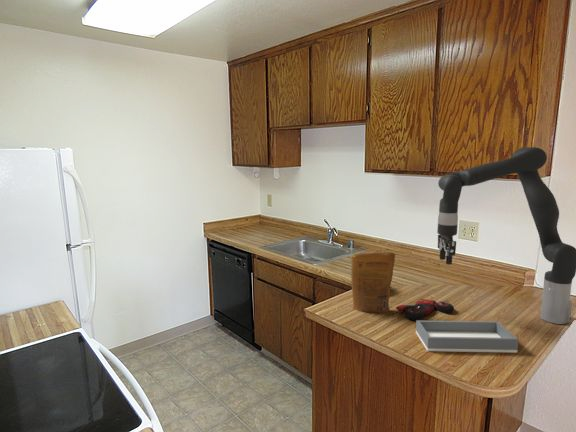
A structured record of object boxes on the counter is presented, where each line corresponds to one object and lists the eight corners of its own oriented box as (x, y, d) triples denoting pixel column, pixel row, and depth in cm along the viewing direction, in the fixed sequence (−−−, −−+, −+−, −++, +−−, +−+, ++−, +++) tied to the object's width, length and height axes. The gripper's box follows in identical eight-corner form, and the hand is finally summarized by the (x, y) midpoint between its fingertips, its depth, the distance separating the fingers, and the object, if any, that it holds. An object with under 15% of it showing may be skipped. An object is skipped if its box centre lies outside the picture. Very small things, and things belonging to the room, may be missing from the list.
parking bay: (496, 333, 140) (497, 321, 139) (517, 352, 126) (518, 339, 126) (415, 332, 142) (416, 320, 141) (427, 351, 128) (428, 338, 127)
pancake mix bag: (394, 316, 156) (396, 254, 152) (350, 314, 159) (351, 253, 154) (391, 310, 163) (394, 250, 159) (349, 308, 165) (350, 249, 161)
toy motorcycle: (456, 315, 159) (429, 297, 173) (458, 304, 158) (431, 288, 172) (413, 328, 149) (388, 308, 163) (415, 317, 148) (389, 298, 162)
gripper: (464, 226, 142) (461, 266, 144) (450, 220, 156) (447, 257, 158) (444, 226, 142) (442, 266, 145) (432, 220, 156) (430, 257, 159)
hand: (445, 261), depth 152 cm, fingers open, 6 cm apart
